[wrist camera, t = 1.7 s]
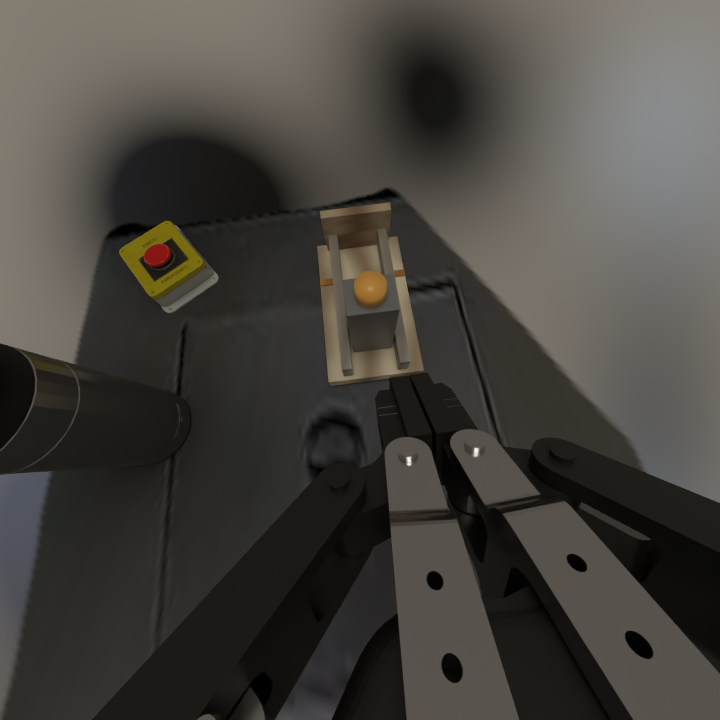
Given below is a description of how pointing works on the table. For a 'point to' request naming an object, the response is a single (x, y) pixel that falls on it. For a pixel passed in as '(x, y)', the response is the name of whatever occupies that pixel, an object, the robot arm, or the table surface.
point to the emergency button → (168, 266)
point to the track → (348, 260)
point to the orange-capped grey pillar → (371, 310)
